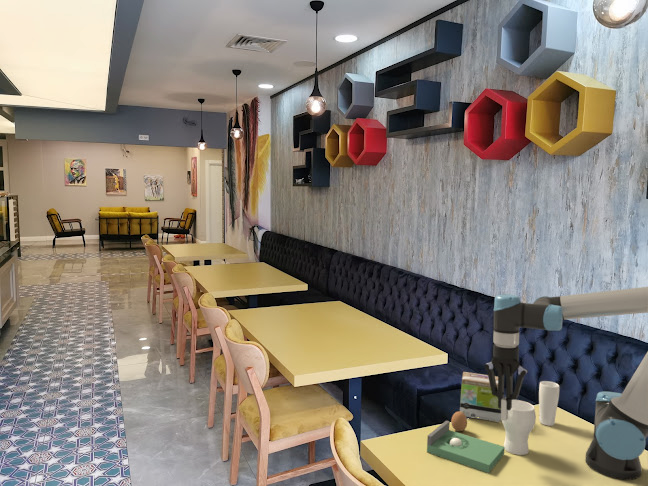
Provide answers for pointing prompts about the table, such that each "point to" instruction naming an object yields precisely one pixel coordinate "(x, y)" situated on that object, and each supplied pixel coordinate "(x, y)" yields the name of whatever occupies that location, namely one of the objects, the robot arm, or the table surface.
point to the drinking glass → (548, 402)
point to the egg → (459, 421)
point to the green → (464, 449)
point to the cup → (519, 427)
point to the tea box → (479, 397)
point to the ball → (455, 442)
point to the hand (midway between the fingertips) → (504, 419)
